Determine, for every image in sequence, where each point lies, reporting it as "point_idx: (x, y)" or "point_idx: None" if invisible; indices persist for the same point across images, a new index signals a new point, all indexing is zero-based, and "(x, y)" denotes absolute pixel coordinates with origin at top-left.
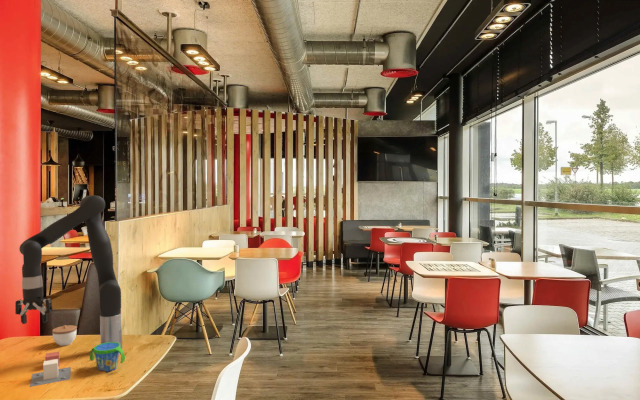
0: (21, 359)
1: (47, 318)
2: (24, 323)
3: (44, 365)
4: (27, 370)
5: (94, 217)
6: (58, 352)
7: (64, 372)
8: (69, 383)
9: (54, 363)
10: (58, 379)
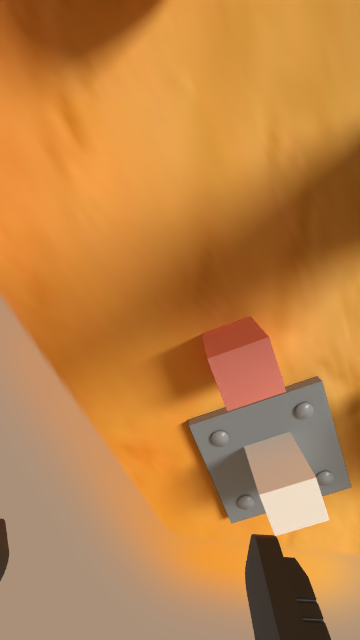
0: (22, 214)
1: (314, 613)
2: (4, 559)
3: (279, 533)
4: (136, 361)
5: None
6: (270, 352)
7: (312, 430)
8: (346, 491)
9: (317, 523)
10: None
